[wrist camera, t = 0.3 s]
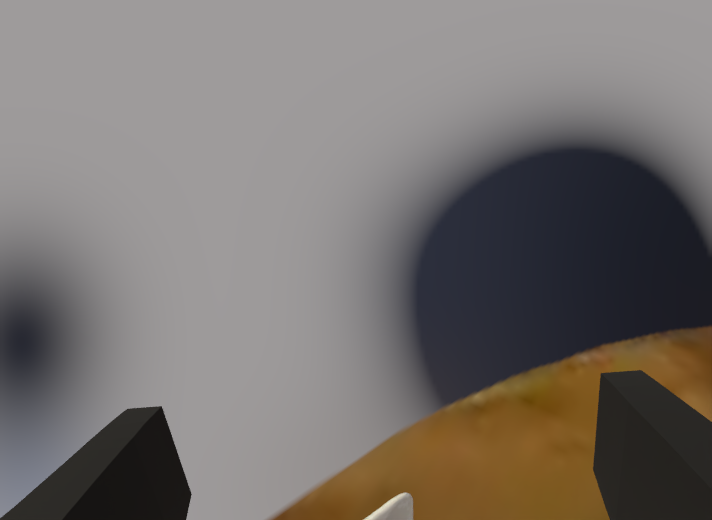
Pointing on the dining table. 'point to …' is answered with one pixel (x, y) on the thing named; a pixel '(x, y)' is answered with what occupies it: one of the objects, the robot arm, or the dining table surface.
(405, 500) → the ink cartridge box
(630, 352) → the dining table surface
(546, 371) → the dining table surface
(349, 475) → the dining table surface
